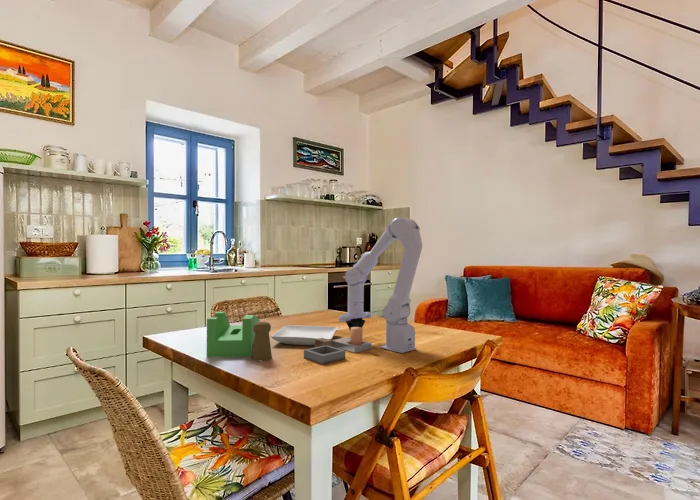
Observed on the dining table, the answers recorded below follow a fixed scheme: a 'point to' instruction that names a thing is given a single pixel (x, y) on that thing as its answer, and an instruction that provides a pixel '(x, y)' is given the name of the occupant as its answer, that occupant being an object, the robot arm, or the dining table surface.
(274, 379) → the dining table surface
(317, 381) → the dining table surface
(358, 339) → the dowel
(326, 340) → the block
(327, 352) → the tray
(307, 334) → the salad plate
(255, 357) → the brown pawn
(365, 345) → the grey flat frame
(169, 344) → the dining table surface
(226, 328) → the ramp block with notch
